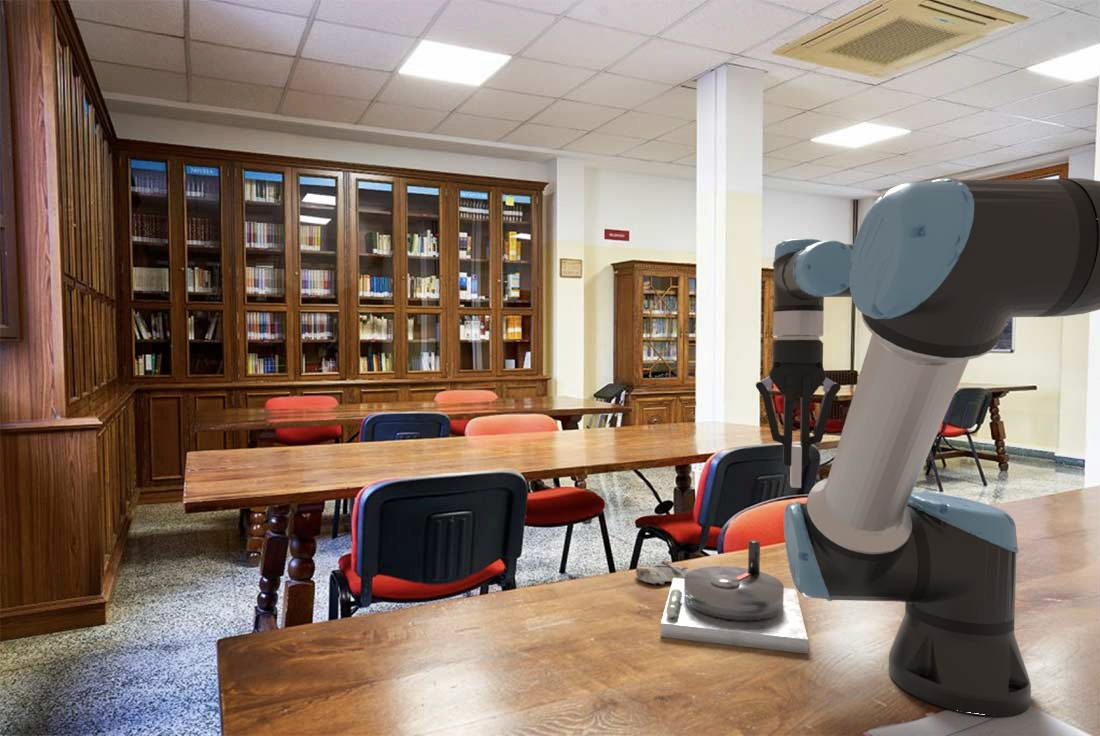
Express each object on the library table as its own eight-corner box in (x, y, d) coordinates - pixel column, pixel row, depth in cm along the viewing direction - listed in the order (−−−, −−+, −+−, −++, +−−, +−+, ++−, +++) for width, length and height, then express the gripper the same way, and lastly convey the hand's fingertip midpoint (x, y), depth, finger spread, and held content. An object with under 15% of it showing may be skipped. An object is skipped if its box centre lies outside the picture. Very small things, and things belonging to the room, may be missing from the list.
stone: (671, 570, 128) (672, 556, 128) (697, 582, 121) (697, 567, 121) (629, 578, 124) (629, 563, 124) (653, 590, 117) (653, 575, 117)
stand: (807, 653, 93) (808, 626, 93) (660, 636, 98) (661, 610, 98) (795, 601, 112) (795, 578, 112) (673, 589, 117) (673, 567, 117)
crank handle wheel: (786, 625, 97) (787, 569, 96) (680, 613, 101) (680, 560, 100) (780, 588, 111) (781, 540, 111) (687, 580, 115) (687, 533, 115)
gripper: (838, 339, 109) (835, 483, 110) (754, 339, 113) (752, 479, 114) (845, 338, 102) (842, 493, 103) (755, 338, 106) (753, 488, 107)
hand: (795, 485), depth 108 cm, fingers closed
